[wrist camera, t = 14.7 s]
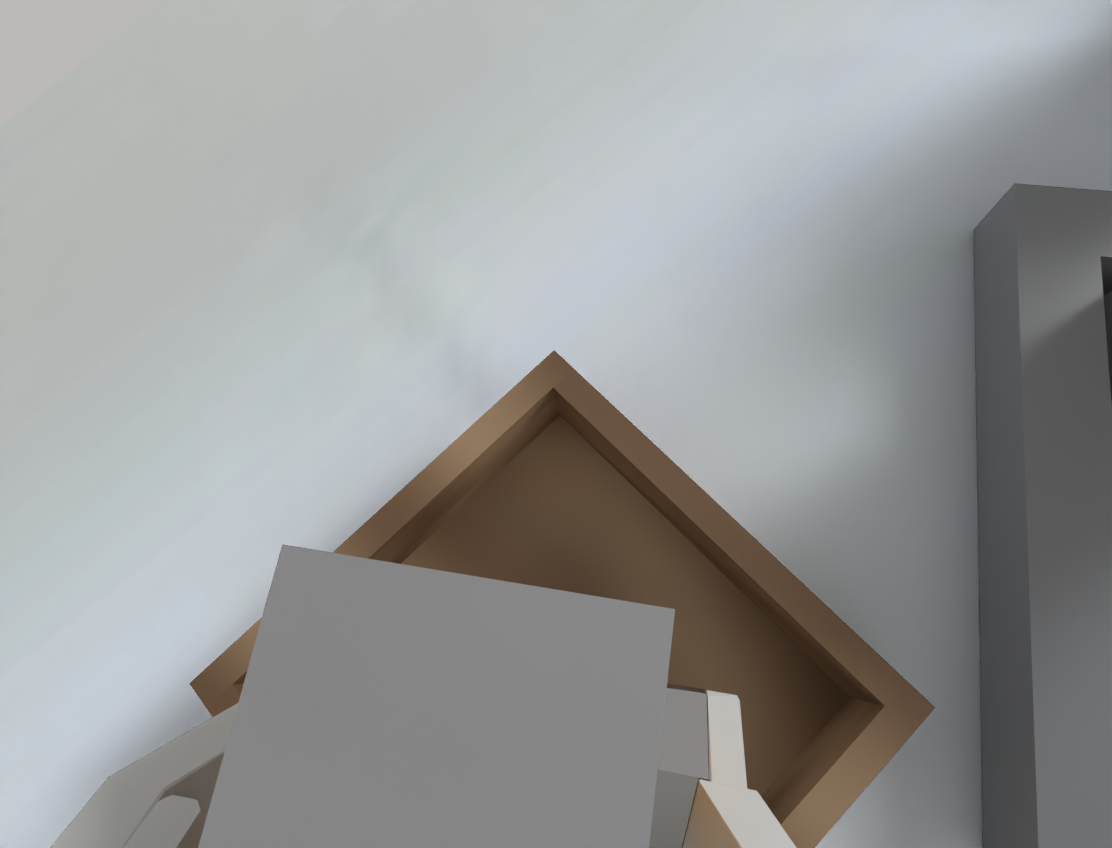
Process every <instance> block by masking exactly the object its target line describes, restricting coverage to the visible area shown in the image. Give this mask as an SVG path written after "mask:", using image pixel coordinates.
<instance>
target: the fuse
mask: <svg viewBox="0 0 1112 848" xmlns="http://www.w3.org/2000/svg"><path fill="white" fill-rule="evenodd" d="M1104 310H1105V323H1106V336H1107V350H1108V363H1109V376H1110V389H1111V403H1112V291H1111V292H1110V293H1108V294H1107V295H1105V296H1104Z"/></svg>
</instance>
